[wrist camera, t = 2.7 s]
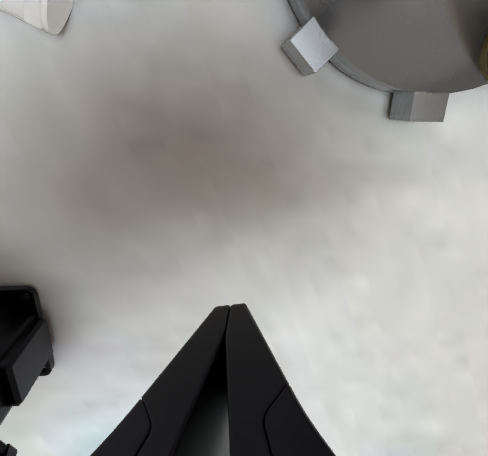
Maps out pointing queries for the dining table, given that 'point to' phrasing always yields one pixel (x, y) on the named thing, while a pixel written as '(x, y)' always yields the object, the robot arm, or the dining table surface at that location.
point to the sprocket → (397, 48)
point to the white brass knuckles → (40, 12)
